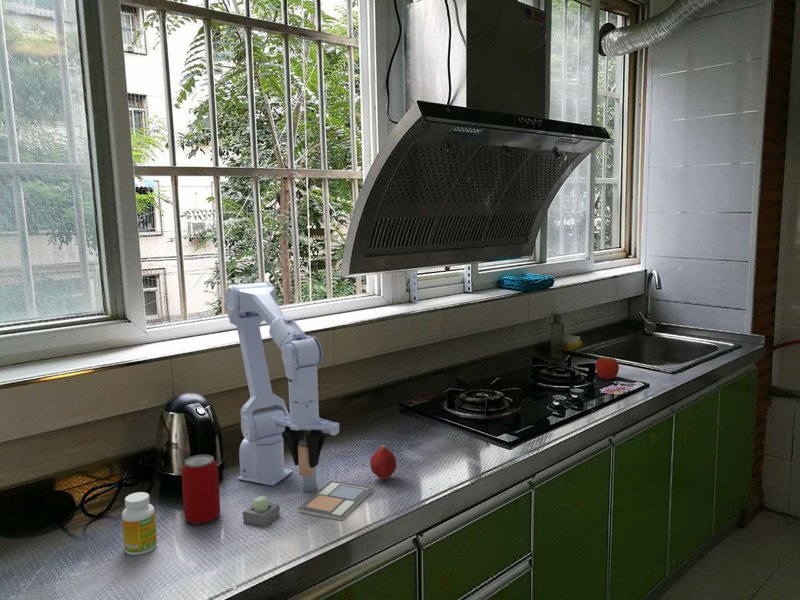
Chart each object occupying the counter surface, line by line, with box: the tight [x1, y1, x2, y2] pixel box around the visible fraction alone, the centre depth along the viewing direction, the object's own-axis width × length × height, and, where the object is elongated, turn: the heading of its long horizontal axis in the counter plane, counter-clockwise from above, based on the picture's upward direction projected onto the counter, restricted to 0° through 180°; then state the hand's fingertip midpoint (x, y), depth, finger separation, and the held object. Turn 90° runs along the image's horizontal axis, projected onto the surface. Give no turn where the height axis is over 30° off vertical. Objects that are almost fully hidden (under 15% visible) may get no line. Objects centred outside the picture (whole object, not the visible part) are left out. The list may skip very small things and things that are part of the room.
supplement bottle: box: [121, 491, 158, 556], centre depth 113 cm, size 5×5×10 cm
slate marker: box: [301, 466, 318, 493], centre depth 136 cm, size 3×3×7 cm
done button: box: [253, 495, 269, 513], centre depth 123 cm, size 3×3×3 cm
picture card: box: [296, 480, 373, 521], centre depth 130 cm, size 10×14×1 cm
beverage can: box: [181, 454, 221, 525], centre depth 123 cm, size 7×7×12 cm
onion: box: [369, 445, 397, 481], centre depth 140 cm, size 6×6×8 cm
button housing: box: [242, 501, 281, 528], centre depth 123 cm, size 5×5×2 cm
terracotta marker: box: [297, 436, 314, 477], centre depth 126 cm, size 3×3×7 cm
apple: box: [595, 356, 620, 380], centre depth 220 cm, size 8×8×8 cm
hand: (306, 464), depth 127 cm, fingers closed on terracotta marker, 3 cm apart
